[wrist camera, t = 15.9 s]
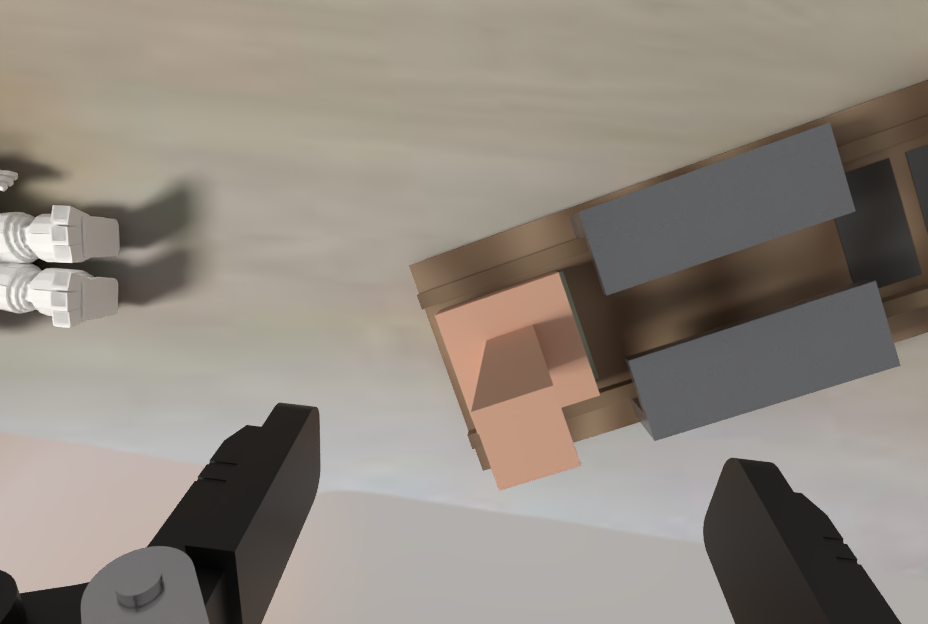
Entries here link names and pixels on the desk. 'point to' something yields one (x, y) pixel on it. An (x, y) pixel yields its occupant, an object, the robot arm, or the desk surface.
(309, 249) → the desk surface
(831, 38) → the desk surface
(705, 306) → the track board
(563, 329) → the pink post on block
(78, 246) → the figure
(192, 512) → the robot arm
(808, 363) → the tunnel
